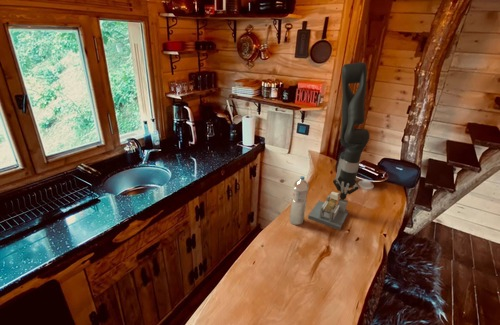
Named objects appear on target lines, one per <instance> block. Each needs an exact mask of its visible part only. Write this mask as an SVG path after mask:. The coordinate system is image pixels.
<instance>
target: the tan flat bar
mask: <svg viewBox="0 0 500 325" xmlns="http://www.w3.org/2000/svg"><path fill="white" fill-rule="evenodd" d="M337 203H338V200H335V199H332V198H330V201H329V203H328V204H327V206H326V207H325V209H324V212H327V213H330V212H331V210H332V209H333V207H334V206H336V205H337ZM335 204H336V205H335Z"/></svg>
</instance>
